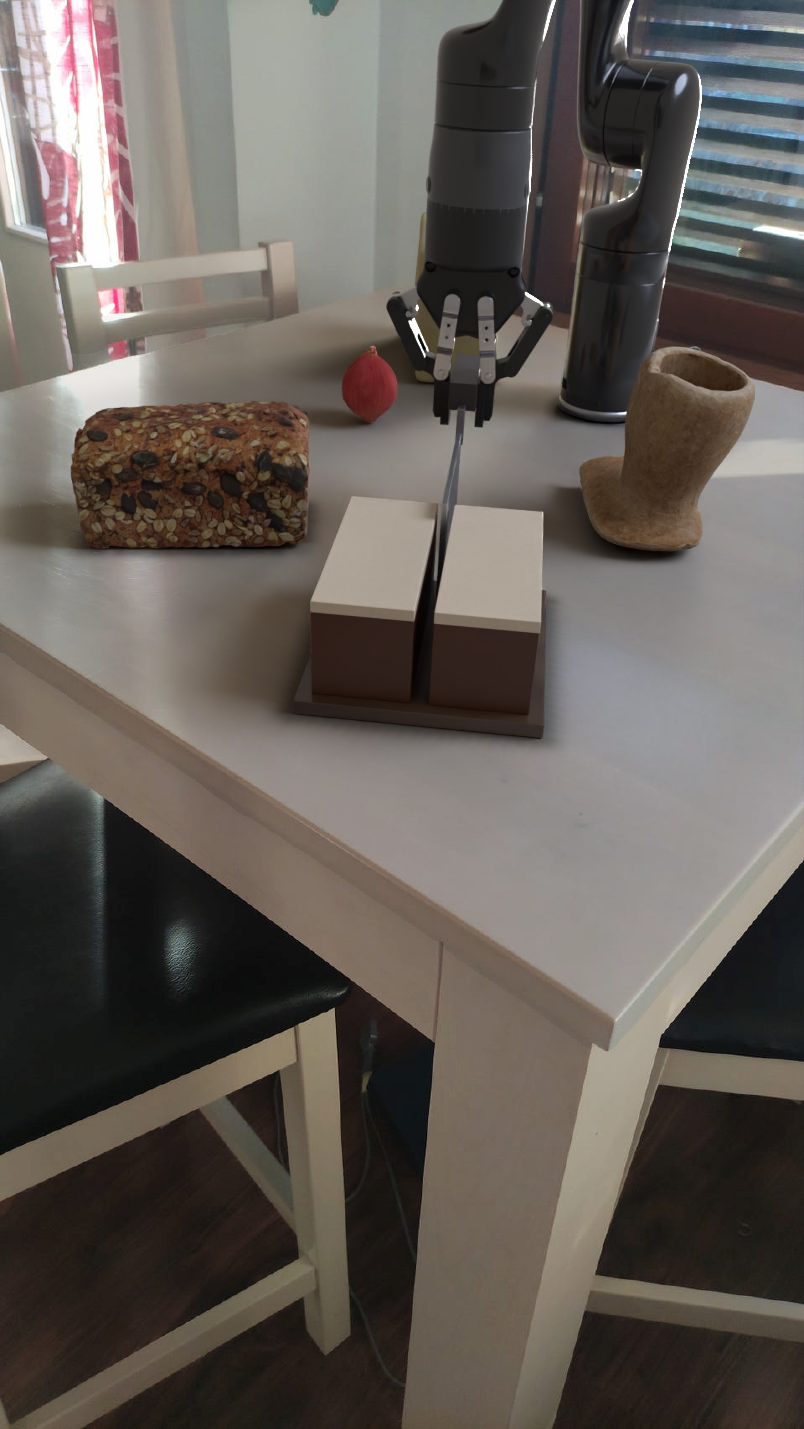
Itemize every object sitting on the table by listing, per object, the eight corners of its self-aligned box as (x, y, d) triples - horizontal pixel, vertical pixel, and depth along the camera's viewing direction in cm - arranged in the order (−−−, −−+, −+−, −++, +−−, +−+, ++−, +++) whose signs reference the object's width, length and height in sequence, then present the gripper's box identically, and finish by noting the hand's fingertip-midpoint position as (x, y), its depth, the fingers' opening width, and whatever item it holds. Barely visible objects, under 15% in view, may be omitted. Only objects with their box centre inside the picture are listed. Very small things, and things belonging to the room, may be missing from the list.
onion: (332, 426, 110) (332, 349, 106) (355, 409, 115) (355, 334, 110) (383, 435, 109) (385, 357, 104) (404, 418, 113) (407, 342, 109)
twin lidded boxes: (339, 582, 82) (340, 489, 78) (544, 601, 81) (557, 507, 77) (293, 713, 68) (290, 607, 63) (542, 738, 66) (557, 632, 62)
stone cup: (731, 567, 87) (776, 387, 78) (587, 558, 87) (615, 377, 79) (701, 494, 99) (736, 330, 91) (575, 486, 100) (598, 322, 91)
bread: (311, 500, 95) (309, 390, 89) (310, 554, 86) (308, 435, 80) (100, 498, 93) (84, 386, 88) (77, 553, 85) (59, 432, 79)
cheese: (388, 331, 140) (392, 208, 132) (460, 331, 142) (468, 209, 133) (413, 384, 123) (420, 246, 114) (495, 384, 124) (507, 247, 115)
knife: (448, 478, 97) (457, 353, 90) (472, 480, 96) (482, 355, 90) (423, 598, 78) (431, 451, 71) (453, 600, 78) (464, 454, 71)
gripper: (571, 192, 80) (545, 414, 90) (391, 181, 82) (385, 402, 92) (572, 210, 74) (544, 446, 84) (378, 198, 75) (373, 432, 85)
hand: (461, 422), depth 88 cm, fingers closed on knife, 2 cm apart
